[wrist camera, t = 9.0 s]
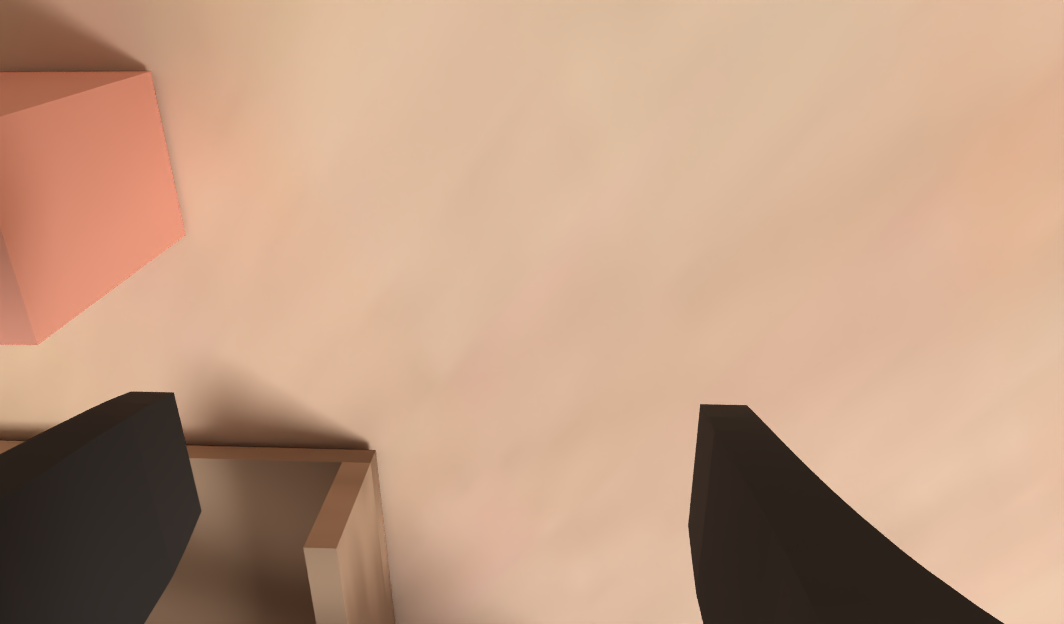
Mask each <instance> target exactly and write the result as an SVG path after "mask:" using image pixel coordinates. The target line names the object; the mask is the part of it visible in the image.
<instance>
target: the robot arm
mask: <svg viewBox="0 0 1064 624" xmlns="http://www.w3.org/2000/svg"><path fill="white" fill-rule="evenodd" d="M201 512H202V510H201V506H200V502H199V498H198V493H197V489H196V485H195V481H194V476H193V472H192V468H191V464H190V459H189V455H188V451H187V447H186V442H185V438H184V434H183V430H182V425H181V421H180V417H179V413H178V408H177V404H176V400H175V396H174V393H170V392H129V393H126V394H124V395H121V396H118V397H116V398H113V399H111V400H109V401H106V402H104V403H102V404H100V405H98V406H95V407H93V408H91V409H89V410H87V411H85V412H83V413H81V414H79V415H77V416H75V417H73V418H71V419H69V420H67V421H64V422H62V423H60V424H58V425H57V426H55V427H53V428H51V429H49V430H47V431H45V432H43V433H41V434H39V435H37V436H35V437H33V438H31V439H29V440H27V441H25V442H23V443H21V444H19V445H17V446H15V447H13V448H11V449H9V450H7V451H5V452H3V453H1V454H0V624H144V623H145V622H146V620H147V618H148V617H149V615H150V614H151V612H152V610H153V609H154V607H155V605H156V604H157V602H158V600H159V599H160V597H161V596H162V594H163V592H164V591H165V589H166V587H167V585H168V584H169V582H170V580H171V579H172V577H173V575H174V573H175V571H176V569H177V567H178V564H179V562H180V560H181V558H182V556H183V554H184V552H185V549H186V547H187V545H188V543H189V540H190V538H191V535H192V533H193V531H194V528H195V526H196V523H197V521H198V519H199V516H200V514H201ZM688 528H689V537H690V546H691V555H692V563H693V571H694V579H695V587H696V594H697V599H698V603H699V607H700V611H701V616H702V620H703V624H1004V623H1002V622H1001V621H999V620H998V619H996V618H995V617H993V616H992V615H990V614H989V613H987V612H986V611H984V610H983V609H981V608H980V607H978V606H977V605H975V604H974V603H972V602H971V601H970V600H968V599H967V598H966V597H964V596H963V595H961V594H960V593H959V592H957V591H956V590H954V589H953V588H952V587H950V586H949V585H947V584H946V583H945V582H943V581H942V580H940V579H939V578H938V577H936V576H935V575H933V574H932V573H931V572H929V571H928V570H927V569H925V568H924V567H923V566H921V565H920V564H919V563H917V562H916V561H915V560H914V559H912V558H911V557H910V556H908V555H907V554H906V553H905V552H903V551H902V550H901V549H899V548H898V547H897V546H896V545H895V544H894V543H892V542H891V541H890V540H889V539H888V538H886V537H885V536H884V535H883V534H882V533H880V532H879V531H878V530H877V529H876V528H874V527H873V526H872V525H871V524H870V523H868V522H867V521H866V520H865V519H864V518H862V517H861V516H860V515H859V514H858V513H857V512H856V511H855V510H853V509H852V508H851V507H850V506H849V505H848V504H847V503H846V502H844V501H843V500H842V499H841V498H840V497H839V496H838V495H837V494H836V493H835V492H833V491H832V490H831V489H830V488H829V487H828V486H827V485H826V484H825V483H824V482H823V481H822V480H821V479H820V478H819V477H818V476H817V475H815V474H814V473H813V472H812V471H811V470H810V469H809V468H808V467H807V466H806V465H805V464H804V463H803V462H802V461H801V460H800V459H799V458H798V457H797V456H796V455H795V454H794V453H793V452H792V451H791V450H790V449H789V448H788V447H787V446H786V445H785V444H784V443H783V442H782V441H781V440H780V439H779V438H778V437H777V436H776V435H775V433H774V432H773V431H772V430H771V429H770V428H769V427H768V426H767V425H766V424H765V423H764V422H763V421H762V420H761V419H760V418H759V417H758V416H757V415H756V414H755V413H754V412H753V411H752V410H751V409H750V408H749V407H748V406H747V405H709V404H700V413H699V423H698V433H697V443H696V453H695V463H694V473H693V483H692V493H691V503H690V513H689V523H688Z"/></svg>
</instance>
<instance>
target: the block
mask: <svg viewBox="0 0 1064 624" xmlns="http://www.w3.org/2000/svg"><path fill="white" fill-rule="evenodd" d="M183 236H185V231H184V226H183V221H182V217H181V212H180V207H179V202H178V198H177V193H176V188H175V184H174V179H173V174H172V169H171V165H170V160H169V155H168V151H167V146H166V141H165V136H164V132H163V127H162V122H161V118H160V113H159V108H158V103H157V99H156V94H155V89H154V85H153V80H152V75H151V71H117V72H0V345H38V344H40V343H41V342H42V341H44V340H45V339H46V338H48V337H49V336H50V335H52V334H53V333H54V332H56V331H57V330H58V329H60V328H61V327H62V326H64V325H65V324H66V323H68V322H69V321H71V320H72V319H73V318H75V317H76V316H77V315H79V314H80V313H81V312H83V311H84V310H85V309H87V308H88V307H89V306H91V305H92V304H93V303H95V302H96V301H97V300H99V299H100V298H101V297H103V296H104V295H105V294H107V293H108V292H109V291H111V290H112V289H114V288H115V287H116V286H118V285H119V284H120V283H122V282H123V281H124V280H126V279H127V278H128V277H130V276H131V275H132V274H134V273H135V272H136V271H138V270H139V269H140V268H142V267H143V266H144V265H146V264H147V263H148V262H150V261H151V260H152V259H154V258H155V257H157V256H158V255H159V254H161V253H162V252H163V251H165V250H166V249H167V248H169V247H170V246H171V245H173V244H174V243H175V242H177V241H178V240H179V239H181V238H182V237H183Z"/></svg>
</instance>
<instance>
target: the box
mask: <svg viewBox="0 0 1064 624" xmlns="http://www.w3.org/2000/svg"><path fill="white" fill-rule="evenodd" d="M23 442H25V441H0V454H1V453H3V452H5V451H7V450H9V449H11V448H13V447H15V446H17V445H19V444H21V443H23ZM186 447H187V451H188V455H189V459H190V464H191V468H192V472H193V476H194V481H195V485H196V489H197V493H198V498H199V502H200V506H201V510H202V512H201V514H200V516H199V519H198V521H197V523H196V526H195V528H194V531H193V533H192V535H191V538H190V540H189V543H188V545H187V547H186V549H185V552H184V554H183V556H182V558H181V560H180V562H179V564H178V567H177V569H176V571H175V573H174V575H173V577H172V579H171V580H170V582H169V584H168V585H167V587H166V589H165V591H164V592H163V594H162V596H161V597H160V599H159V600H158V602H157V604H156V605H155V607H154V609H153V610H152V612H151V614H150V615H149V617H148V618H147V620H146V622H145V623H144V624H395V620H394V611H393V602H392V593H391V584H390V575H389V566H388V557H387V548H386V539H385V530H384V521H383V512H382V503H381V494H380V485H379V476H378V467H377V458H376V450H346V449H307V448H268V447H229V446H191V445H186Z"/></svg>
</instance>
